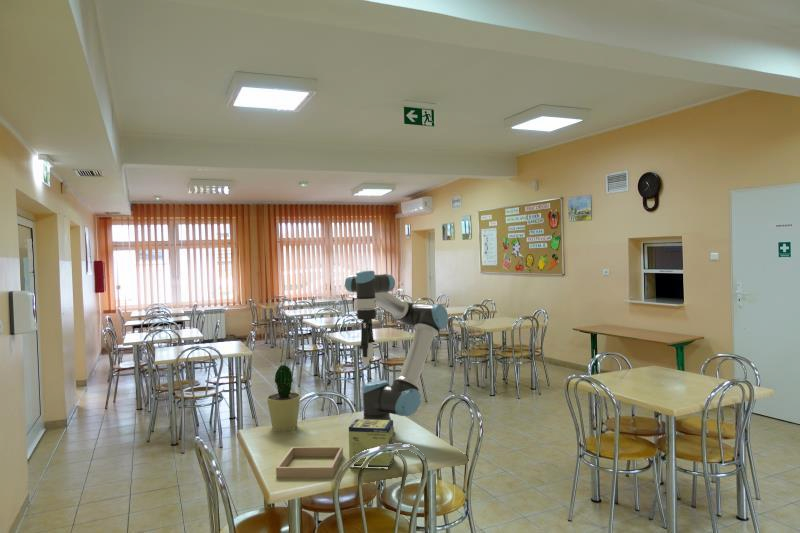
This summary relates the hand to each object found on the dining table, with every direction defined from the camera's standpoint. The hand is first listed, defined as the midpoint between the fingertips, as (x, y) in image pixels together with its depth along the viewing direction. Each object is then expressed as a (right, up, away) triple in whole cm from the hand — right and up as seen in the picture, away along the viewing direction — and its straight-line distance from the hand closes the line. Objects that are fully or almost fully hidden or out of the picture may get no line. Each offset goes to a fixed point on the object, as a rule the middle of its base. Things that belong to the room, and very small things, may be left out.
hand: (367, 361), depth 219 cm
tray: (-21, -38, -12) cm, 45 cm away
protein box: (+2, -37, -11) cm, 39 cm away
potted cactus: (-41, -38, +38) cm, 67 cm away
